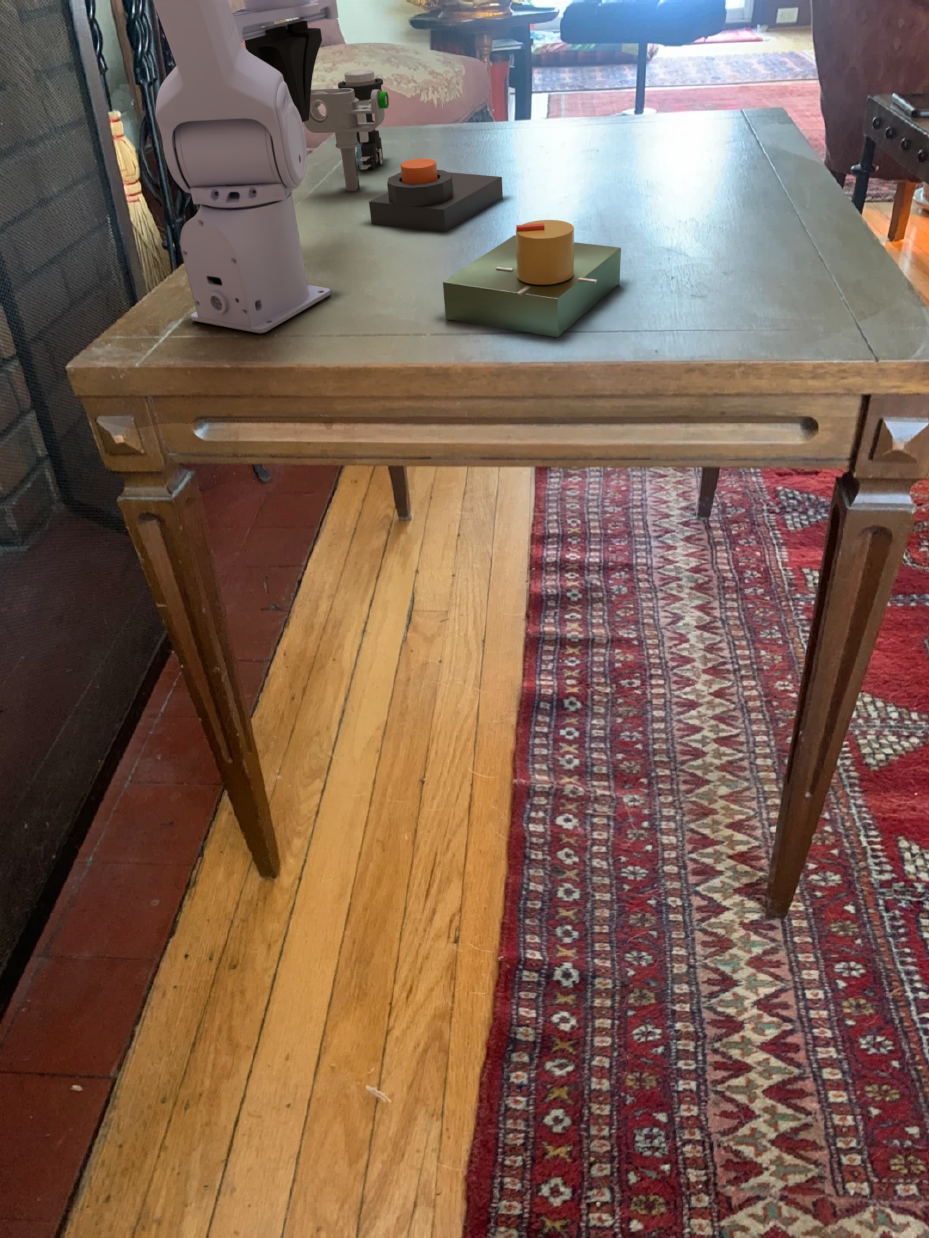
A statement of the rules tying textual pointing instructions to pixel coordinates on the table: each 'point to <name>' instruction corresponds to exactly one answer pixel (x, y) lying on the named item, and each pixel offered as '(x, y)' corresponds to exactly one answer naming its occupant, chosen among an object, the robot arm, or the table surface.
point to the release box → (435, 200)
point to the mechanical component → (345, 123)
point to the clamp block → (530, 290)
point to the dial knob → (545, 252)
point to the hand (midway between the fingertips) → (296, 121)
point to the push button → (365, 116)
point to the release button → (419, 171)
